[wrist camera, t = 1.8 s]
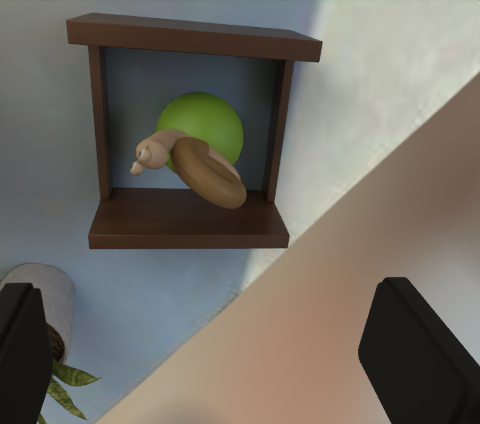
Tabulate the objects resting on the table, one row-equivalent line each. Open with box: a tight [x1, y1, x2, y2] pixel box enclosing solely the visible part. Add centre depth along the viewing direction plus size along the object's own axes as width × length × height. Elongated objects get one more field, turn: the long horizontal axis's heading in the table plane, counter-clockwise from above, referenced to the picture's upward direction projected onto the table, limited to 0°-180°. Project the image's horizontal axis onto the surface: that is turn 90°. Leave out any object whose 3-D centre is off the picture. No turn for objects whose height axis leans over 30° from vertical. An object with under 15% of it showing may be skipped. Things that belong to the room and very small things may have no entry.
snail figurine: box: [130, 92, 246, 209], centre depth 22 cm, size 5×6×12 cm
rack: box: [66, 13, 323, 249], centre depth 25 cm, size 12×12×6 cm
